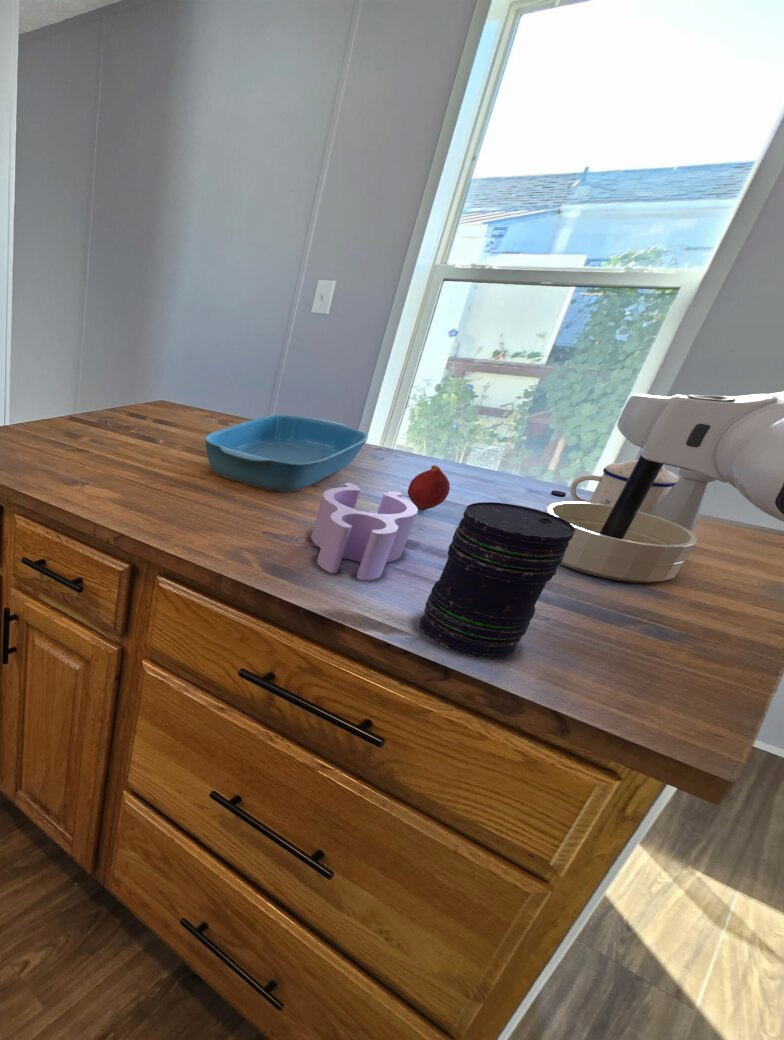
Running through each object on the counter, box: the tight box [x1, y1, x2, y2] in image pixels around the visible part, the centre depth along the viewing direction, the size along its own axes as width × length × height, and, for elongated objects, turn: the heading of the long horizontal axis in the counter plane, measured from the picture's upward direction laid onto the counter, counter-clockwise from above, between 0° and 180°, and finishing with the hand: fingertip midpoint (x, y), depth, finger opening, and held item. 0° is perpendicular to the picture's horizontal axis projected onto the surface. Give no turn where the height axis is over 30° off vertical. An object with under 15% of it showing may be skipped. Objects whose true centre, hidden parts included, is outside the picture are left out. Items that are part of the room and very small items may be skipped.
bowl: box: [544, 501, 699, 583], centre depth 95 cm, size 16×16×6 cm
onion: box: [407, 464, 451, 512], centre depth 111 cm, size 6×6×8 cm
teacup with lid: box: [569, 459, 680, 514], centre depth 106 cm, size 12×9×12 cm
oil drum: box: [418, 490, 576, 660], centre depth 73 cm, size 10×10×18 cm
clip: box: [310, 482, 419, 581], centre depth 96 cm, size 20×12×7 cm, turn 148°
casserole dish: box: [204, 414, 369, 493], centre depth 129 cm, size 37×22×7 cm, turn 132°
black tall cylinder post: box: [598, 454, 664, 540], centre depth 92 cm, size 6×6×18 cm
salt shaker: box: [650, 468, 717, 533], centre depth 99 cm, size 6×6×13 cm
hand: (732, 412), depth 72 cm, fingers open, 8 cm apart
